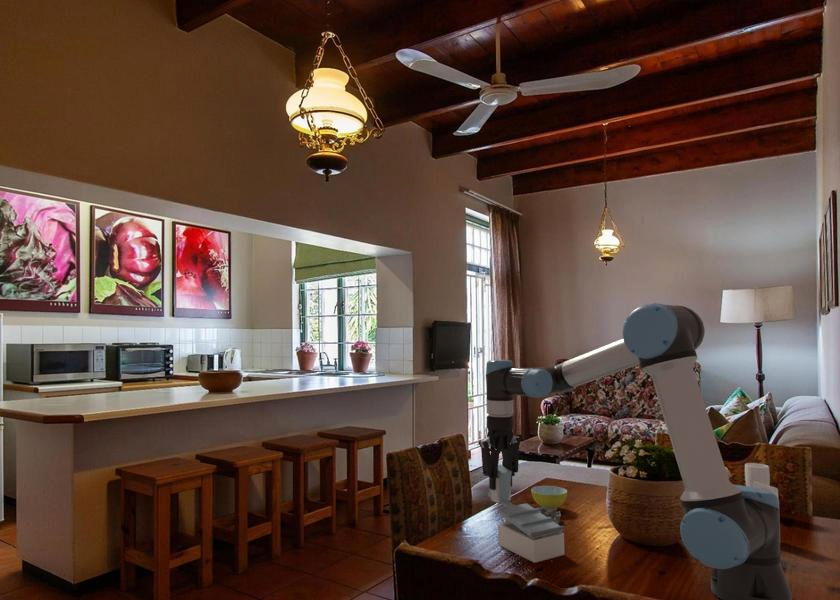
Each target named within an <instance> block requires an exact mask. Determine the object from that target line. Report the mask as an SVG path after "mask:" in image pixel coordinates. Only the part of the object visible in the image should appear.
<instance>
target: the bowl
mask: <svg viewBox="0 0 840 600" xmlns="http://www.w3.org/2000/svg"><path fill="white" fill-rule="evenodd" d="M530 491H531V496H532V499H533V501H534V502H535V503H536V504H537V505H538V506H539V507H541V508H544V509H545V508H546V509H551V510H553V509H554V511H555V512H557V509H558V508H559V507H561V506H562V505H563V504H564V503H565V502H566V499H567V497H568V490H567V489H565V488H563V487H560V486H555V485H554V486H553V485H538V486H533V487H532V488H531V490H530Z"/></svg>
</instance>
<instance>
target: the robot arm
mask: <svg viewBox="0 0 840 600" xmlns="http://www.w3.org/2000/svg"><path fill="white" fill-rule="evenodd" d="M704 338H705V325H704V321H703V320H702V318H701V316H699V314H698V313H697V312H695V311H694V310H693V309H691V308H689V307H687V306H683V305H671V304H669V305H668V304H663V303H656V302H653V303H651V304H649V303H648V304H643V305H640V306H638V307H636V308H635V309H633V310H632V311H631V312H630V314H628V316H627V318H626V320H624V322H623V326H622V338H620V339H617V340H615V341H613V342H611V343H608V344H606V345H602V346H601V347H597V348H596V349H595V348H594V349H593V350H591V351H587V352H585V353H583V354H581V355H578V356H576V357H572V358H571V359H568V360H565V361H563V362H561V363H559V364H555V365H553V366H544V367H543V366H542V367H514V364H513V360H509V359H490V360H488V361H487V362H486V368H485V382H486V386H485V387H486V414H487V416H486V429H487V434H486V437H485V438H484V439H479V441H478V444H479V447H480V450H481V465H482V474H483V476H485V477H488V479H489V480H488V481H489V483H488V484H489V485H488V489H489V488H490V489H491V498H490V500H491V501H492V502H494V503H496V502H497V503H496V504H498V503H499V502H500V494H499V478H497V471H498V465H499V460H500V454H501V459H502V463H503V465H502V466H504V467H505V468H507V469H508V470H510V471H512V474H511V483H510V491H509V499H508V501H509V502H510V501H511V500H512V496H511V495H512V493H511V491H512V489H511V488H512V487H513V477H515V476H516V473H518V472H519V459H520V444H521V440H522V437H520V436H517V435H515V434H514V431H513V430H514V428H515V427H514V426H515V425H514V419H515V418H514V416H513V414H514V410H515V408H514V396H520V397H530V398H533V399H534V398H545V397H547V396H548V395H551V394H565V393H569V392H571V391H573V390H575V388H576V387H579V386H583V385H585V384H588V383H591V382H593V381H596V380H599V379H601V378H605V377H608V376H610V375H614V374H616V373H620V372H622V371H624V370H625V371H626V370H627V369H629V368H633V367H636V366H640V368H641V371H642V372H644V373H646V374H647V375H649V376H650V377H651V380H652V383H653V387H654V390H655V393H656V396H657V400H658V403H659V407H660V410H661V412H662V413H661V414H662V416H663V420H664V423H665V425H666V429H667V432H668V437H669V440H670V443H671V446H672V449H673V453H674V456H675V460H676V462H677V463H676V464H677V465H678V470H679V472H680V476H681V479H682V483H683V485H684V491H683V492H682V494H681V495H680V497H679V498H680V499H679V500H680V503H681V506H682V510H683V513H684V515H683V517H682V520H681V522H680V527H679V529H680V530H679V532H680V533H679V534H680V537H681V538H680V539H681V540H682V542H683V545H684V547H685V548H686V550H687V551H688V552H689V554H690V555H691V556H692V557H694V559H697V560H698V561H699V562H701V564H703V565H704V566H707V567H709V568H713V571H712V574H711V577H710V590H711V592H712V594H713V595H714V596H715V595H716V596H715V597H717V598H718V599H719V598H720V599H719V600H721V599H722V600H793V598H792V597H793V596H792V595H793V594H792V590H791V588H790V586H789V582H788V580H787V578H786V575H785V572H784V570H783V567H782V564H781V561H782V560H781V530H780V531H779V517H780V505H779V506H778V500H779V497H778V498H777V496H776V495H775V494H774V493H773V492H771V491H768V490H764V489H760V488H755V487H749V486H746V485H743V484H741V485H740V484H733V483H732V482H731V481H730V478H729V476H728V472H727V470H726V467H725V463H724V460H723V457H722V453H721V451H720V448H719V445H718V442H717V441H718V440H717V438H716V436H715V432H714V429H713V427H712V422H711V420H710V418H709V417H710V416H709V413H708V410H707V407H706V405H705V401H704V398H703V395H702V392H701V387H700V386H699V382H698V379H697V377H696V373H695V370H694V365H695V364H696V362H697V360H698V355H697V351H696V350H698V348H699V347H700V346H701V345H702V343H703V341H704Z"/></svg>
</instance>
